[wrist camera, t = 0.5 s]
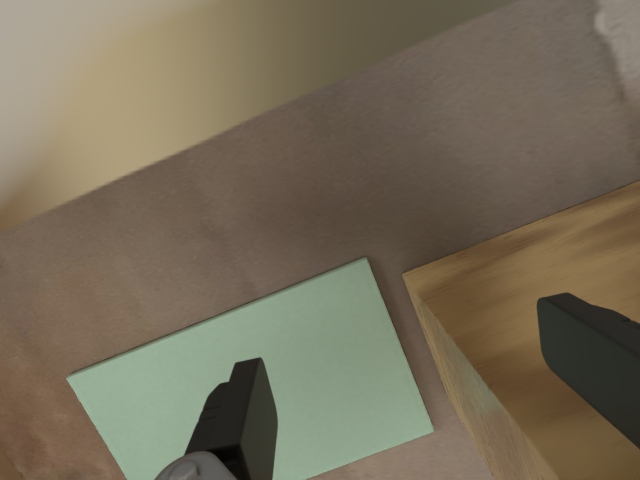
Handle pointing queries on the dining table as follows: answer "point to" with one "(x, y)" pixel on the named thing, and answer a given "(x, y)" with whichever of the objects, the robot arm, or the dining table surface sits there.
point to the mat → (283, 373)
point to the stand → (532, 337)
